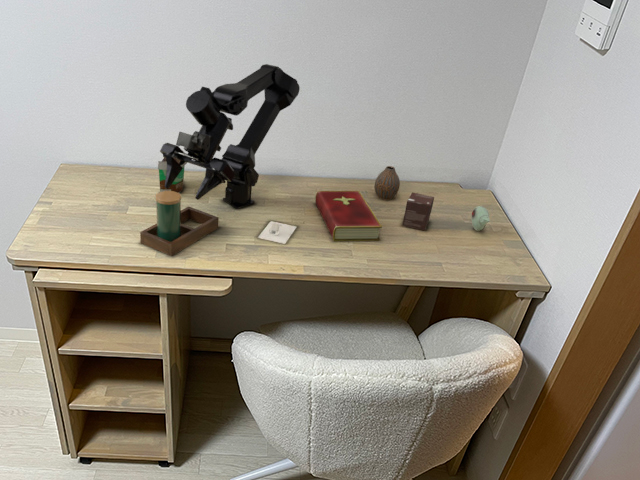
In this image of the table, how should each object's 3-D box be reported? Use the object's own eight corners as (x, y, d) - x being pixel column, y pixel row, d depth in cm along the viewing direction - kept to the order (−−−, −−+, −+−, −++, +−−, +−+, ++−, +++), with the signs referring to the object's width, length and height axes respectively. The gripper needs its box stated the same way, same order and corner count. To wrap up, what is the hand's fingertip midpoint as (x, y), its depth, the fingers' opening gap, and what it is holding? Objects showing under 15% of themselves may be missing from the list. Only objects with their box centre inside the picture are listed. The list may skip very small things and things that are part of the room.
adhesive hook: (268, 234, 152) (269, 223, 151) (271, 230, 154) (272, 219, 153) (279, 237, 151) (280, 226, 150) (283, 232, 154) (284, 221, 152)
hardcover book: (332, 241, 151) (334, 225, 149) (314, 204, 168) (316, 189, 166) (379, 240, 152) (382, 225, 150) (356, 203, 170) (359, 189, 167)
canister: (173, 234, 150) (172, 188, 143) (186, 243, 147) (185, 197, 140) (152, 240, 147) (150, 194, 140) (165, 250, 143) (164, 203, 137)
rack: (188, 216, 158) (188, 206, 157) (218, 228, 154) (218, 217, 152) (140, 243, 146) (140, 232, 144) (171, 256, 141) (171, 244, 140)
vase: (400, 195, 176) (406, 167, 171) (391, 204, 171) (398, 174, 166) (377, 189, 178) (383, 161, 173) (368, 197, 174) (374, 168, 169)
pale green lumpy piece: (487, 238, 156) (495, 214, 153) (471, 236, 157) (478, 213, 153) (479, 223, 163) (486, 200, 159) (464, 222, 163) (471, 199, 159)
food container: (180, 199, 167) (180, 164, 161) (158, 196, 167) (157, 161, 162) (192, 182, 177) (192, 148, 171) (171, 179, 177) (171, 146, 172)
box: (429, 222, 162) (435, 196, 158) (424, 231, 158) (431, 205, 154) (406, 216, 164) (411, 191, 160) (401, 226, 160) (407, 200, 156)
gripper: (164, 108, 142) (133, 167, 141) (229, 126, 134) (197, 189, 132) (185, 133, 152) (157, 188, 151) (247, 151, 144) (218, 210, 142)
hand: (181, 193), depth 144 cm, fingers open, 9 cm apart
